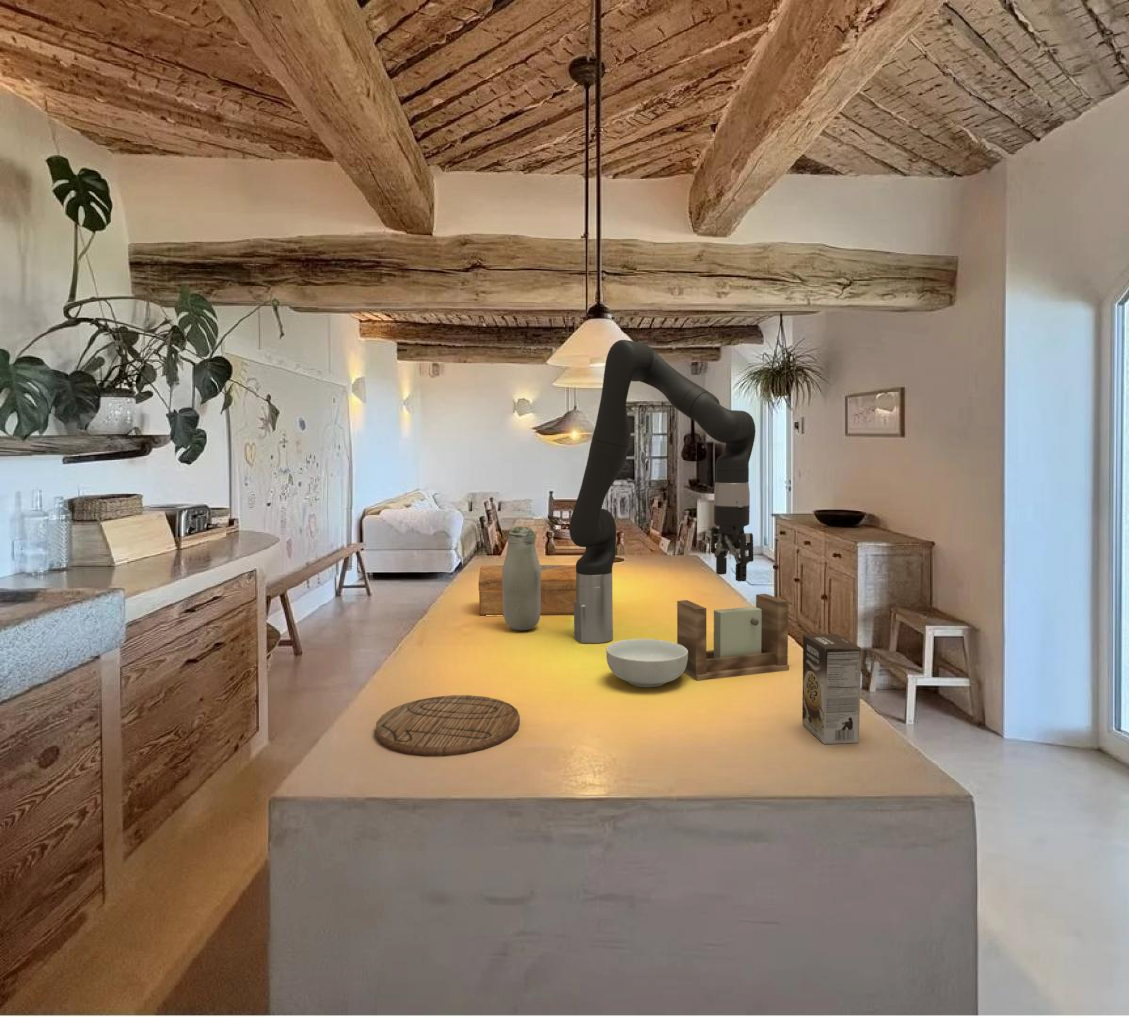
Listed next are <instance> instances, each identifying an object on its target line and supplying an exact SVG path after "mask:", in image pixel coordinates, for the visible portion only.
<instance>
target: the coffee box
mask: <svg viewBox="0 0 1129 1017" xmlns="http://www.w3.org/2000/svg"><path fill="white" fill-rule="evenodd" d="M861 672H862V647H860V646H859V645H857V644H855V643H853V642H851V641H849V640H848V639H847V638H844V637H843V636H841V635H839V634H838V633H832V634H826V633H811V634H803V635H802V703H801V704H802V705H801V706H802V715H801V716H802V718H801V719H802V725H803V727H805V728H806V729H807V730H808V731H809V732H810V733H811V734H812V735H813V736H815V738H817V739H818V740H819V741H820V742H821V743H822V744H824V745H837V744H838V745H839V744H856V743H857V744H858V743H859V742H860V711H861V709H860V706H861V704H860V703H861V678H862V677H861V676H862V674H861Z"/></svg>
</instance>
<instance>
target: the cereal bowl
mask: <svg viewBox="0 0 1129 1017" xmlns="http://www.w3.org/2000/svg"><path fill="white" fill-rule="evenodd" d="M605 653H606V657H605V658H606V663H607V666H608V668H609V670H610V671H611V672H612V674H614V675H615V676H616V677H618V679H619V678H620V679H621V680H623V681H626V682H627V683H628V684H630V685H631V686H633V687H640V688H656V687H657V688H658V687H661V686H664V685H665V684H666V683H670V682H672V681H674V680H676V679H678V678H679V677H681V675H683V673H684V670H685V668H686V665H687V660H688V650H687V649H686V648H685V647H684V646H682V645H679V644H677V642H673V641H669V640H664V639H655V638H631V639H623V640H618V641H615V642H612V643H610V644H609V645H607V647H606V652H605ZM663 684H664V685H663Z"/></svg>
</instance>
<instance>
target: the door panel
mask: <svg viewBox="0 0 1129 1017" xmlns="http://www.w3.org/2000/svg"><path fill="white" fill-rule="evenodd" d="M761 623H762V609H759V608H757V607H756V606H747V607H734V608H724V609H714V610H713V650H714V658H720V657H730V656H739V655H749V654H758V653H761Z"/></svg>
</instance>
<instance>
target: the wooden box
mask: <svg viewBox="0 0 1129 1017" xmlns="http://www.w3.org/2000/svg"><path fill="white" fill-rule="evenodd" d="M503 565H504V564H501V565H482V566H480V568H479V573H478V574H479V575H478V591H479V593H478V595H479V597H478V598H479V617H480V616H486V615H504V614H503V590H502V570H503ZM540 569H541V613H540V617H541V616H542V617H543V616H546V617H547V616H549V617H550V616H574V601H576V564H563V565H562V564H540ZM486 617H487V616H486Z"/></svg>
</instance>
